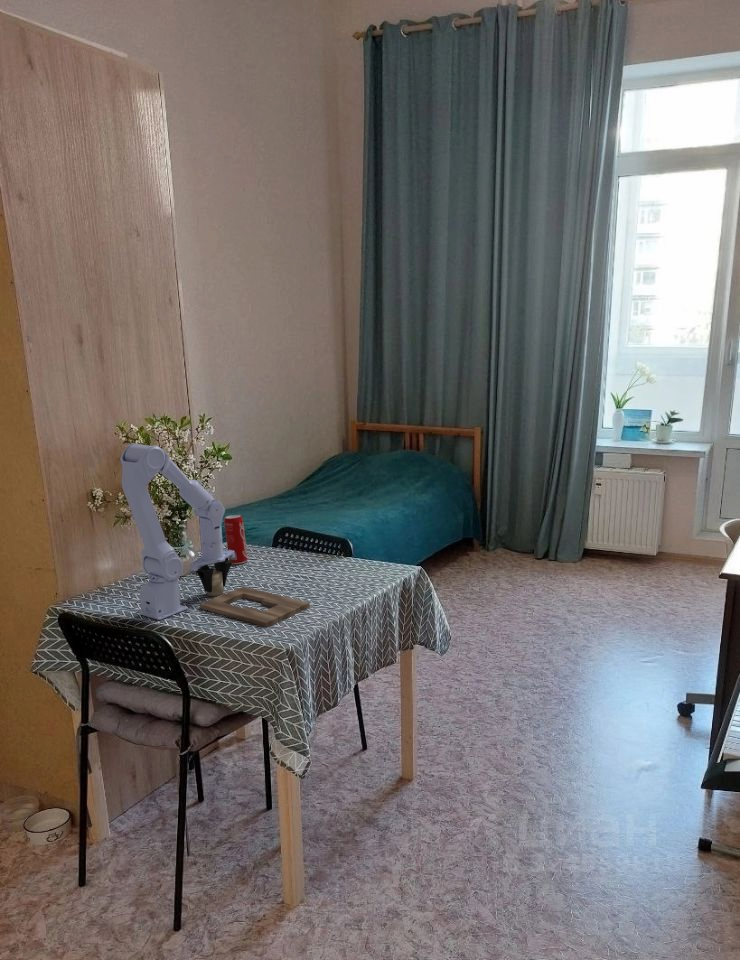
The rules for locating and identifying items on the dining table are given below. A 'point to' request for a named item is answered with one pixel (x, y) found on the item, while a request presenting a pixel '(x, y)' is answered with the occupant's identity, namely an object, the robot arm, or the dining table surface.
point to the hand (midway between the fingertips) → (214, 588)
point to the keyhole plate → (278, 612)
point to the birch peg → (216, 584)
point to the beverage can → (236, 538)
